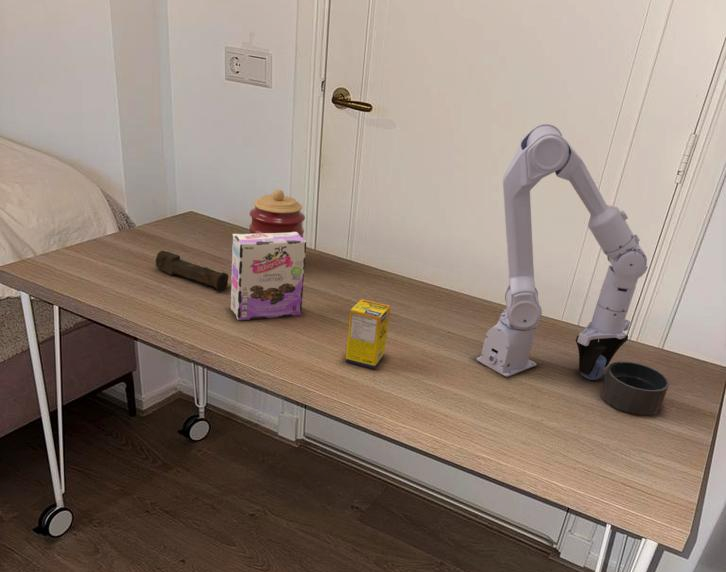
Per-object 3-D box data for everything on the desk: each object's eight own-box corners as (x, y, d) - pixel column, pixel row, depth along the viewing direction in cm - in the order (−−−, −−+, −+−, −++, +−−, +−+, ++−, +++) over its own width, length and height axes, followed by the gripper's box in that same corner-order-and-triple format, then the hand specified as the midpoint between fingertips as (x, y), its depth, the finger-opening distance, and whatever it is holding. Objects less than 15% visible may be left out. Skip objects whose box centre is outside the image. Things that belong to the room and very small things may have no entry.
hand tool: (229, 288, 158) (230, 268, 155) (217, 293, 154) (218, 273, 152) (165, 265, 165) (164, 246, 162) (152, 269, 162) (151, 250, 159)
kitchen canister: (299, 275, 168) (304, 200, 159) (244, 269, 168) (246, 194, 159) (303, 256, 180) (308, 185, 170) (252, 250, 179) (254, 179, 170)
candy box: (237, 321, 144) (239, 243, 135) (229, 309, 148) (231, 232, 140) (302, 316, 150) (307, 240, 141) (292, 304, 154) (297, 230, 145)
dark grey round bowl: (639, 423, 127) (649, 397, 124) (588, 395, 134) (596, 370, 131) (670, 406, 134) (680, 381, 131) (619, 381, 140) (628, 356, 137)
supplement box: (384, 357, 138) (391, 305, 132) (374, 370, 133) (381, 316, 127) (355, 349, 139) (361, 297, 133) (344, 362, 134) (350, 309, 129)
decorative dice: (579, 376, 140) (584, 358, 138) (581, 368, 143) (587, 350, 141) (599, 382, 139) (605, 364, 137) (601, 373, 142) (607, 356, 140)
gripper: (609, 321, 126) (588, 387, 133) (651, 306, 135) (629, 369, 142) (576, 306, 131) (557, 371, 138) (619, 292, 139) (599, 354, 146)
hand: (592, 369), depth 140 cm, fingers closed on decorative dice, 5 cm apart
